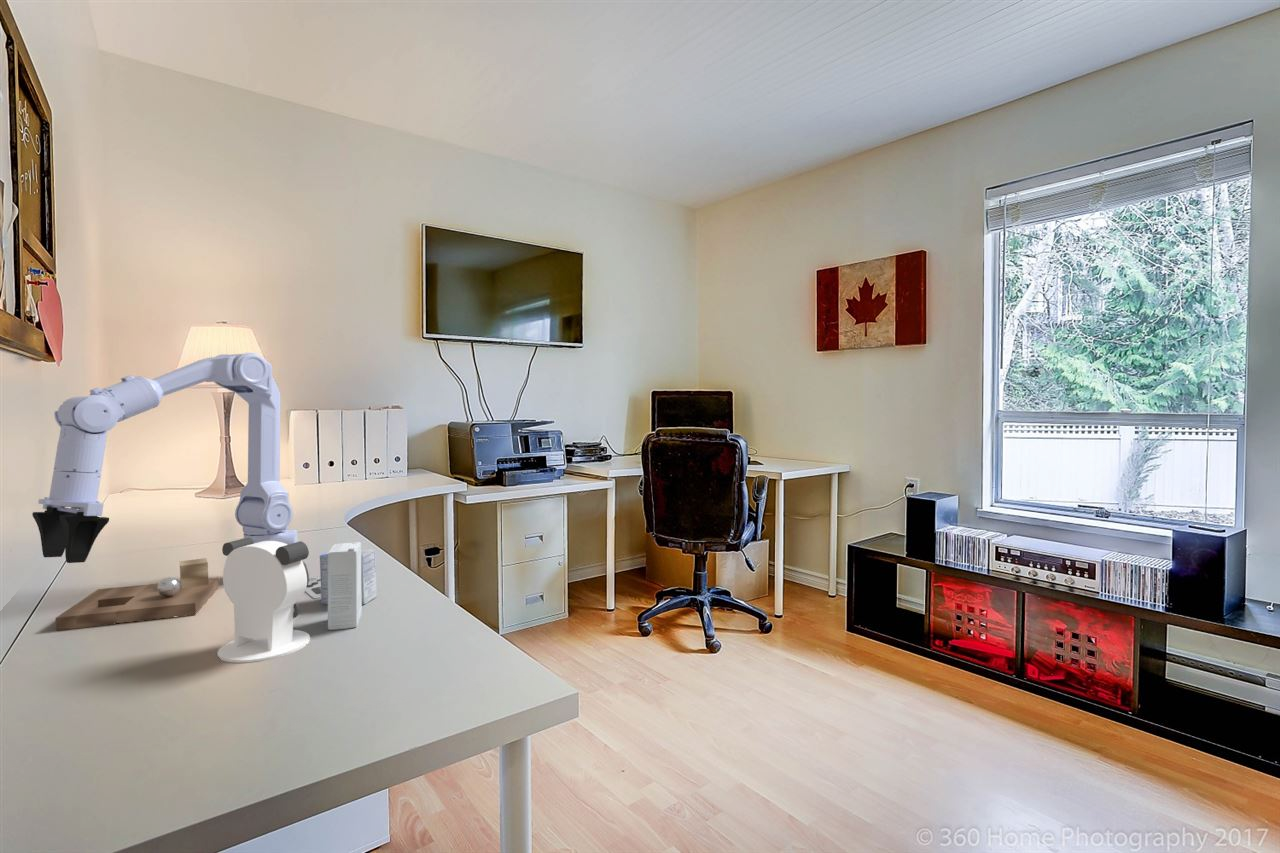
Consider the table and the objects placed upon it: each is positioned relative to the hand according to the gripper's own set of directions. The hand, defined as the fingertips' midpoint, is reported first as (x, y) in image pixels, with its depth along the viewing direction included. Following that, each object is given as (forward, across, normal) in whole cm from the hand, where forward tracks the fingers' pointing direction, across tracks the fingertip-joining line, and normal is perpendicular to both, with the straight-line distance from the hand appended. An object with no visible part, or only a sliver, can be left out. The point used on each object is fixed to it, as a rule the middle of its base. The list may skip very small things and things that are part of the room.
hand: (63, 559), depth 100 cm
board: (+9, 0, +12) cm, 15 cm away
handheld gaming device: (+6, +17, +34) cm, 39 cm away
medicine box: (+6, +29, +30) cm, 42 cm away
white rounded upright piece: (+9, +36, +11) cm, 39 cm away
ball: (+5, +4, +13) cm, 15 cm away
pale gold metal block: (+5, 0, +19) cm, 20 cm away
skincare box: (+7, +38, +22) cm, 45 cm away
